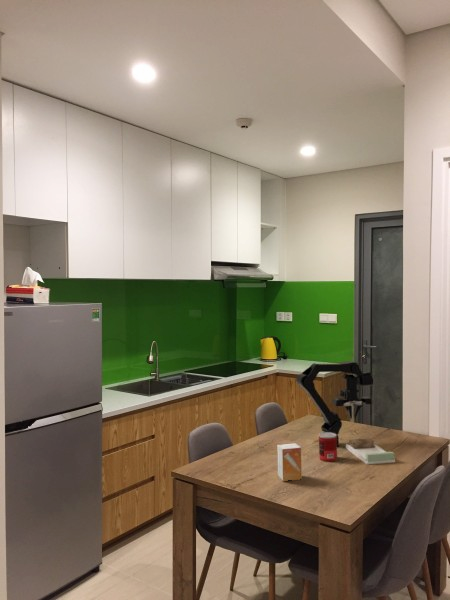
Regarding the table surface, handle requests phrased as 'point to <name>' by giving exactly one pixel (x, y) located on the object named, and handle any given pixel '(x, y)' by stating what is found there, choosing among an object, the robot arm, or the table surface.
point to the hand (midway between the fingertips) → (352, 418)
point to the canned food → (327, 446)
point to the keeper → (361, 443)
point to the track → (366, 450)
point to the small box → (289, 462)
